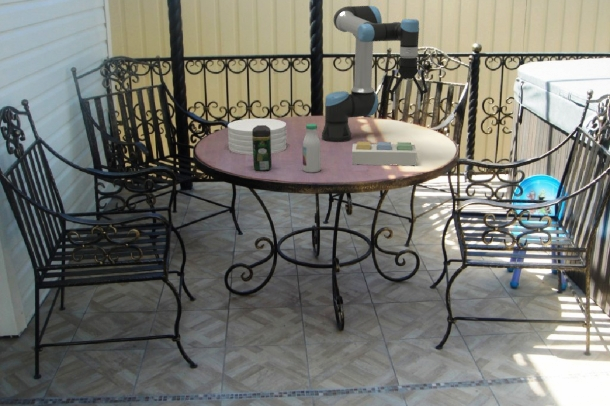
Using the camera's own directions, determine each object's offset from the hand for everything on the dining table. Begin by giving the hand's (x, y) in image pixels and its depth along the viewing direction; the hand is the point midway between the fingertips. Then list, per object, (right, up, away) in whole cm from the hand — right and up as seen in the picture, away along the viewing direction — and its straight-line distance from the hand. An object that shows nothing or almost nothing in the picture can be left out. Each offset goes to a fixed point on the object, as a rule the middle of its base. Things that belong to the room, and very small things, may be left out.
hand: (406, 108), depth 289 cm
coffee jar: (-63, -26, -1) cm, 68 cm away
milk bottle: (-41, -27, -5) cm, 50 cm away
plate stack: (-67, -14, +34) cm, 76 cm away
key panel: (-9, -22, +9) cm, 25 cm away
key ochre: (-18, -18, +8) cm, 27 cm away
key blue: (-9, -19, +7) cm, 22 cm away
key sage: (0, -19, +6) cm, 20 cm away
